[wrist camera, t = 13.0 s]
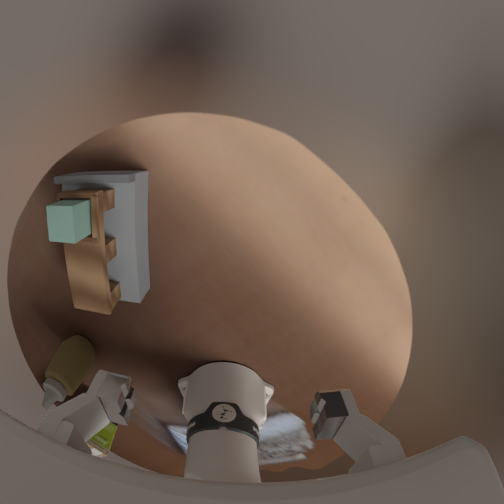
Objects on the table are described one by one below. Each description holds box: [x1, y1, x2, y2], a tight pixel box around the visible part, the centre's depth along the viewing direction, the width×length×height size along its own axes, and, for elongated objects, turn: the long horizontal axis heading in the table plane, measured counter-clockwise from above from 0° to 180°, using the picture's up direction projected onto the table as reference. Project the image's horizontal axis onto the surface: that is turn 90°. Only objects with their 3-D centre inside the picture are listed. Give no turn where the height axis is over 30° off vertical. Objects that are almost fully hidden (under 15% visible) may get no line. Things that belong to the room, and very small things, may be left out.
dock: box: [54, 171, 150, 303], centre depth 34 cm, size 18×12×7 cm, turn 174°
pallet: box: [56, 189, 121, 315], centre depth 30 cm, size 16×6×5 cm, turn 174°
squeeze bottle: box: [42, 335, 95, 409], centre depth 37 cm, size 8×8×18 cm
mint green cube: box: [46, 199, 92, 244], centre depth 25 cm, size 4×4×4 cm
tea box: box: [86, 421, 118, 457], centre depth 46 cm, size 15×10×15 cm, turn 128°
